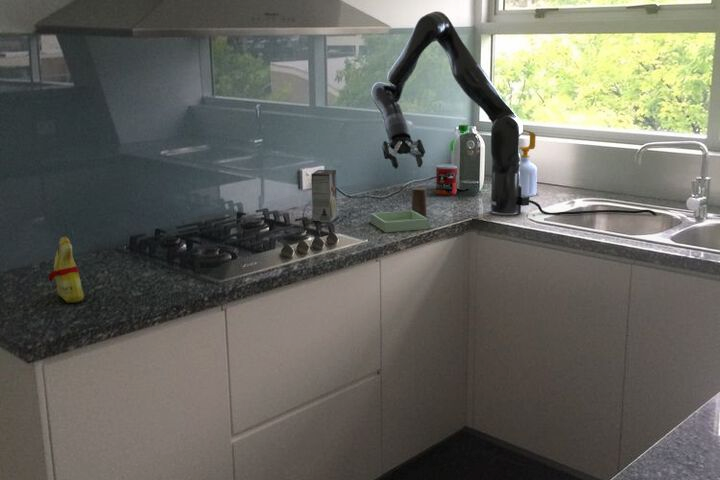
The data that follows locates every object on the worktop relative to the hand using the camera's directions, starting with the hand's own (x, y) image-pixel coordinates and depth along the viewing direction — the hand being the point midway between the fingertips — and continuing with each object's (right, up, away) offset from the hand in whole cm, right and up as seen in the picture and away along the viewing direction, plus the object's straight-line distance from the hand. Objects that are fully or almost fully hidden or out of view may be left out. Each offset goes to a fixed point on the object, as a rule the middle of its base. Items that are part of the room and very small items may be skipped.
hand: (408, 166), depth 282 cm
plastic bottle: (+24, -5, +44) cm, 50 cm away
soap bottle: (+45, -8, +32) cm, 56 cm away
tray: (-4, -20, -16) cm, 26 cm away
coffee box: (-28, -18, -6) cm, 34 cm away
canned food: (+16, -8, +34) cm, 39 cm away
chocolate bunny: (-86, -39, -85) cm, 127 cm away
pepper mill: (+3, -18, -5) cm, 19 cm away
